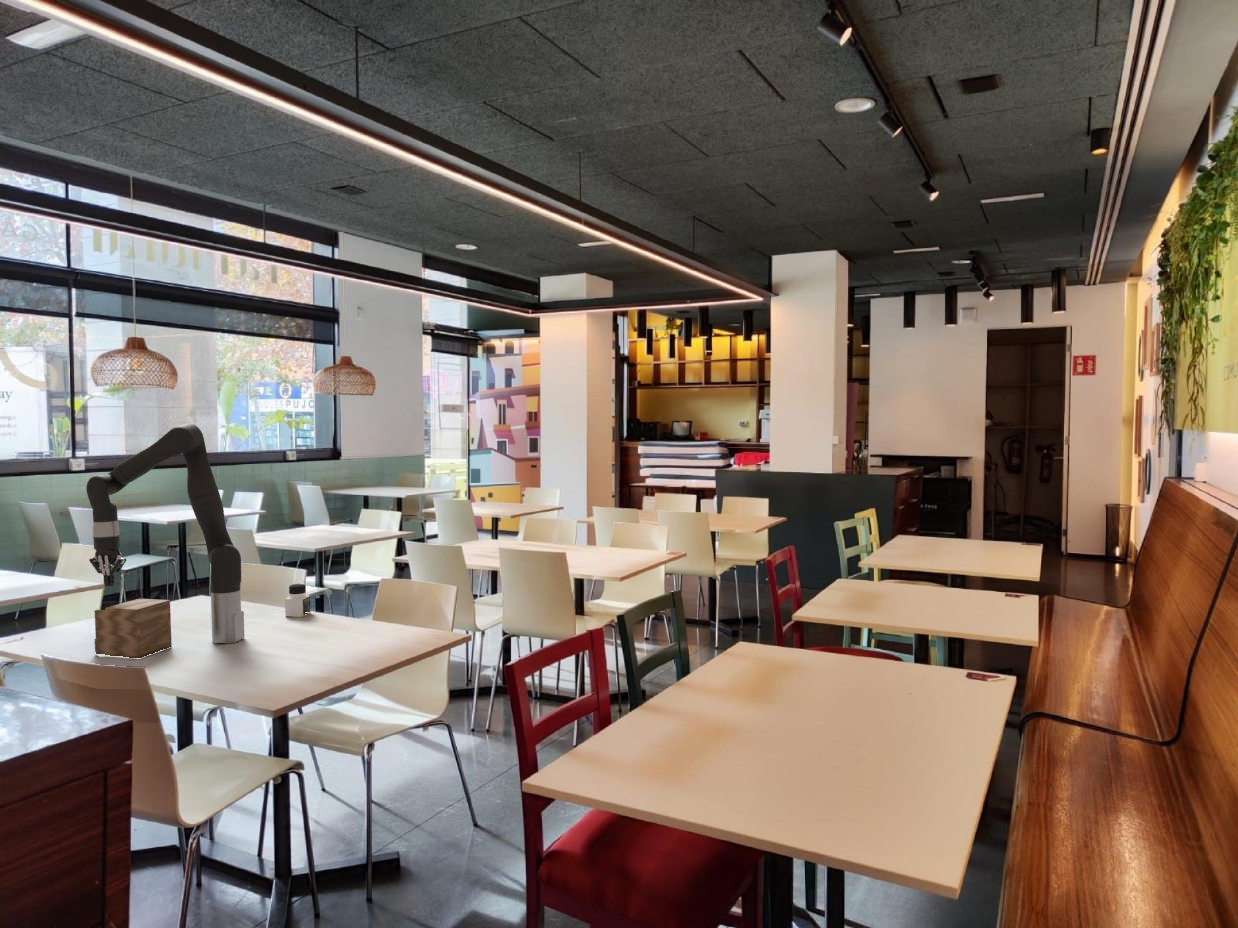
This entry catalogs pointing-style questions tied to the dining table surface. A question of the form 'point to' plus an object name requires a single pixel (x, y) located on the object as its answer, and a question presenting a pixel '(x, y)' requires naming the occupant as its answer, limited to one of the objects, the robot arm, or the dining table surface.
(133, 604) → the walnut box
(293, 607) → the medicine bottle
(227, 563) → the robot arm
